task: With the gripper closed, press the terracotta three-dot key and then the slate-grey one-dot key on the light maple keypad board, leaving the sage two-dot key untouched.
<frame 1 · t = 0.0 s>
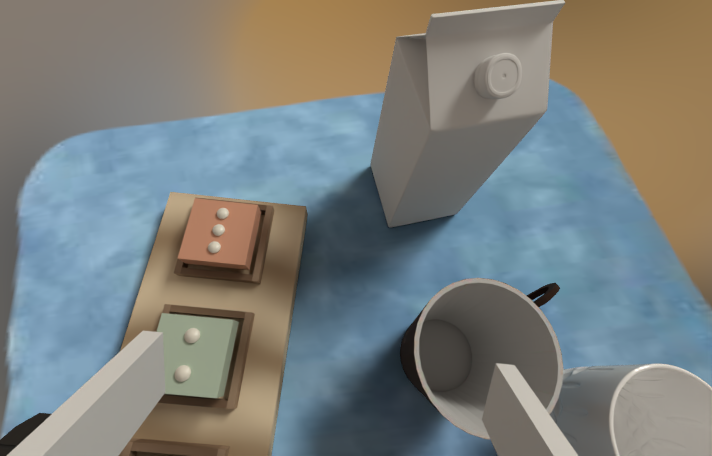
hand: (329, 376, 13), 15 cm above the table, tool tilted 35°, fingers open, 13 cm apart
coffee mug: (453, 351, 29), on the table
white cup: (562, 413, 28), on the table
key two dots: (192, 354, 24), point 4 cm above the table, slide at 0.0 cm
keypad board: (211, 354, 27), on the table
key three dots: (221, 233, 27), point 4 cm above the table, slide at 0.0 cm
milk carton: (412, 190, 34), on the table
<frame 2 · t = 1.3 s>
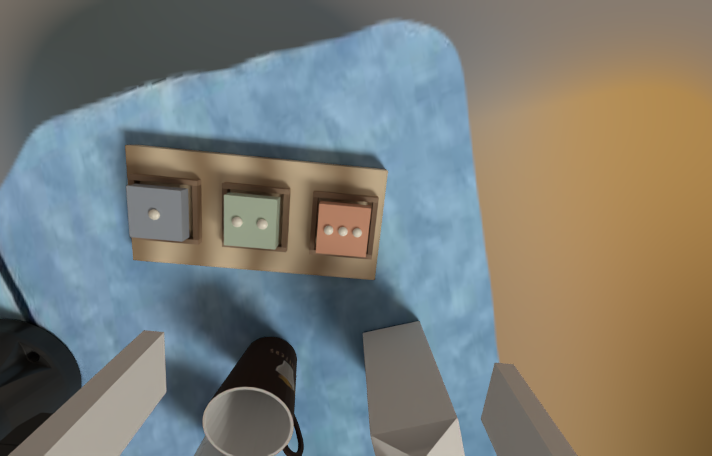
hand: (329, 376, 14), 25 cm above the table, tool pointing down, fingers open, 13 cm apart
coffee mug: (273, 368, 43), on the table
key one dot: (158, 212, 33), point 4 cm above the table, slide at 0.0 cm
white cup: (240, 424, 45), on the table
key two dots: (252, 221, 34), point 4 cm above the table, slide at 0.0 cm
keypad board: (262, 212, 37), on the table
key three dots: (343, 229, 34), point 4 cm above the table, slide at 0.0 cm
milk carton: (396, 349, 42), on the table
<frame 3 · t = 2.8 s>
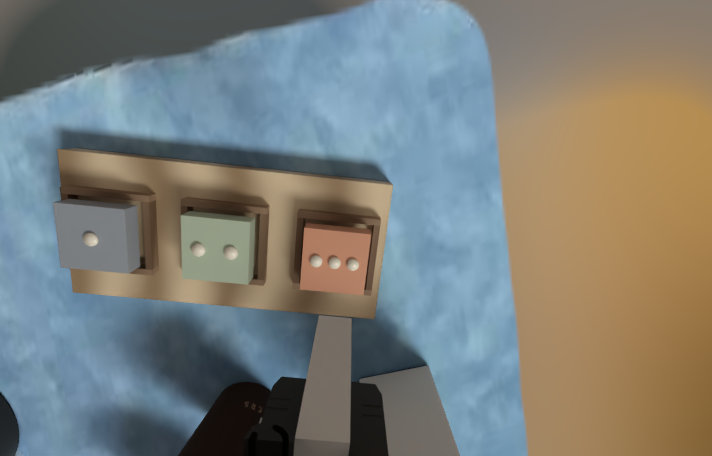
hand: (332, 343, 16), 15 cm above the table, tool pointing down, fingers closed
coffee mug: (251, 418, 35), on the table
key one dot: (98, 236, 26), point 4 cm above the table, slide at 0.0 cm
key two dots: (218, 248, 26), point 4 cm above the table, slide at 0.0 cm
keypad board: (235, 233, 30), on the table
key three dots: (335, 259, 27), point 4 cm above the table, slide at 0.0 cm
milk carton: (399, 397, 35), on the table
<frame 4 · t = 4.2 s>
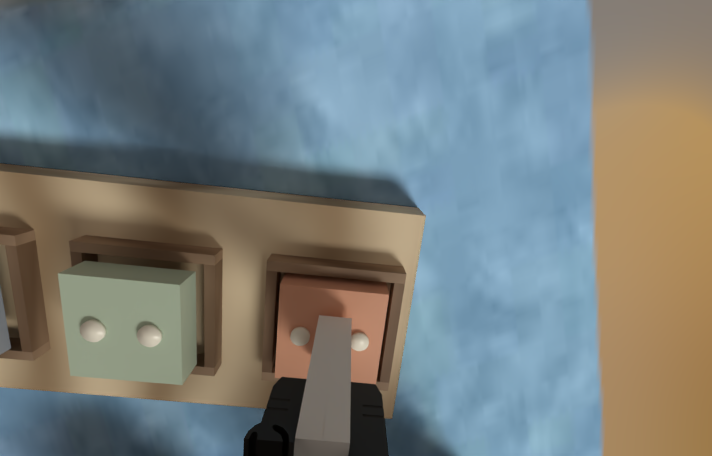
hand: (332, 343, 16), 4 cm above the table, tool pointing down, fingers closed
key two dots: (132, 324, 15), point 4 cm above the table, slide at 0.0 cm
keypad board: (176, 286, 19), on the table
key three dots: (330, 330, 17), point 3 cm above the table, slide at 1.0 cm, touching gripper
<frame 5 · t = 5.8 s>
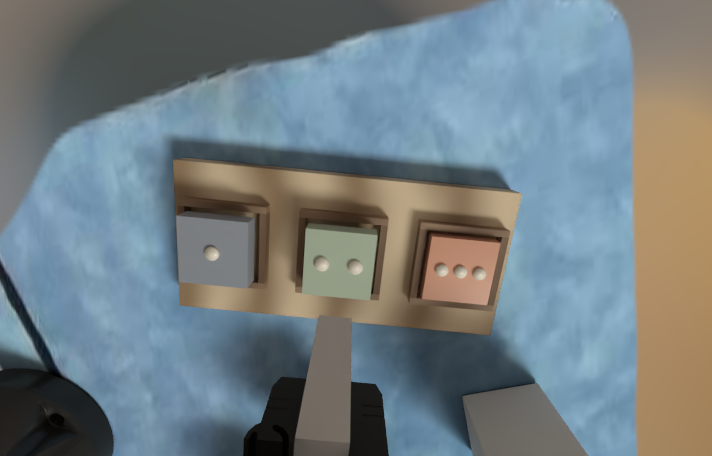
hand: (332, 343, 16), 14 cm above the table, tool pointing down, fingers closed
key one dot: (216, 250, 25), point 4 cm above the table, slide at 0.0 cm
key two dots: (339, 262, 25), point 4 cm above the table, slide at 0.0 cm
keypad board: (342, 244, 29), on the table
key three dots: (458, 268, 26), point 3 cm above the table, slide at 1.1 cm
milk carton: (502, 415, 33), on the table
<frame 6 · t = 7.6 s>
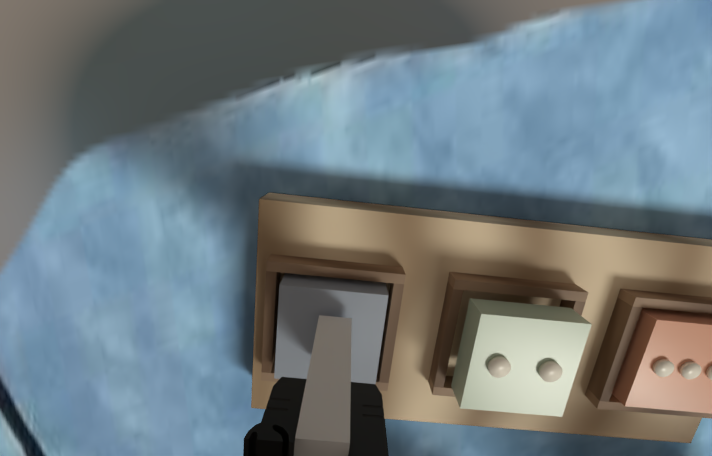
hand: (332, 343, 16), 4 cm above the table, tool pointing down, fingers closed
key one dot: (330, 330, 17), point 3 cm above the table, slide at 1.0 cm, touching gripper
key two dots: (517, 358, 16), point 4 cm above the table, slide at 0.0 cm
keypad board: (484, 315, 20), on the table
key three dots: (676, 360, 18), point 3 cm above the table, slide at 1.1 cm
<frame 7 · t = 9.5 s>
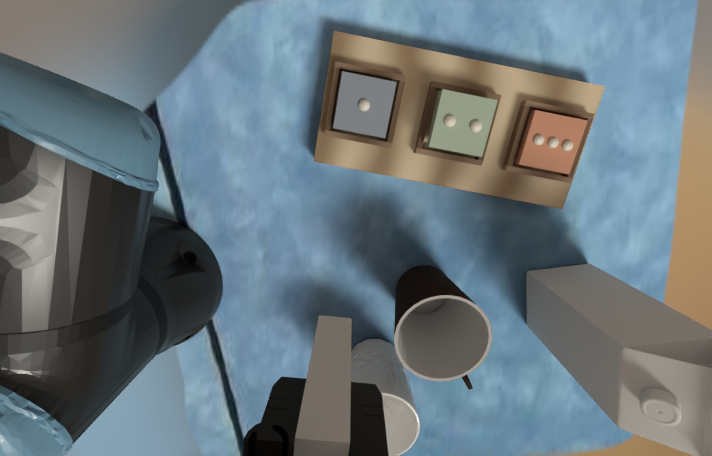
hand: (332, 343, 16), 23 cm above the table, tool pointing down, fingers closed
coffee mug: (422, 301, 40), on the table
key one dot: (364, 106, 32), point 3 cm above the table, slide at 1.1 cm
white cup: (374, 360, 43), on the table
key two dots: (460, 124, 31), point 4 cm above the table, slide at 0.0 cm
keypad board: (449, 125, 35), on the table
key three dots: (549, 142, 33), point 3 cm above the table, slide at 1.1 cm
milk carton: (555, 293, 40), on the table
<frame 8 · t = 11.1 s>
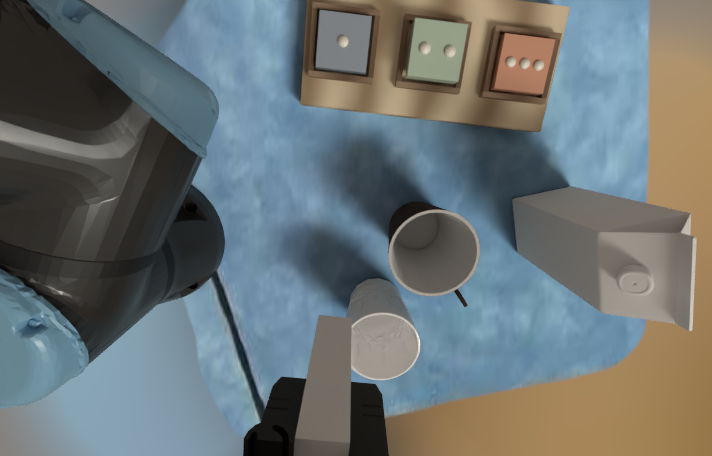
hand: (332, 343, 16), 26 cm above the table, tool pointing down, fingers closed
coffee mug: (416, 238, 42), on the table
key one dot: (343, 43, 34), point 3 cm above the table, slide at 1.1 cm
white cup: (375, 300, 44), on the table
key two dots: (435, 52, 33), point 4 cm above the table, slide at 0.0 cm
keypad board: (427, 61, 37), on the table
key three dots: (521, 65, 34), point 3 cm above the table, slide at 1.1 cm
milk carton: (542, 219, 42), on the table
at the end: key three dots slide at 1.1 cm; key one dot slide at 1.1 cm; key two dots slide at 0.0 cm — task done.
